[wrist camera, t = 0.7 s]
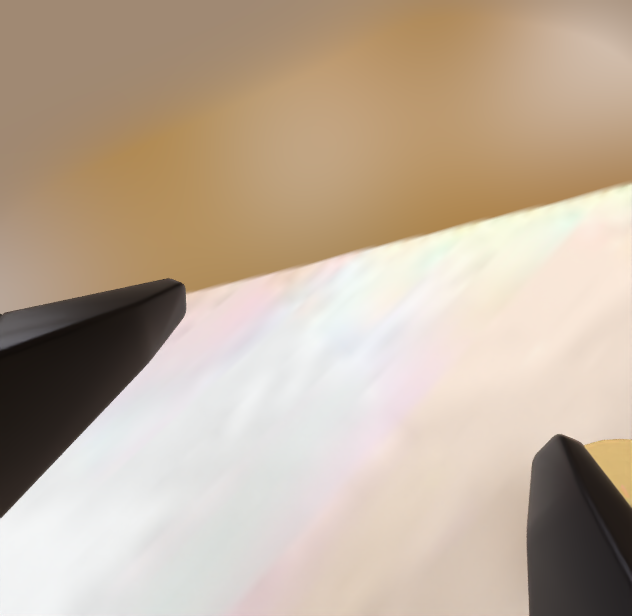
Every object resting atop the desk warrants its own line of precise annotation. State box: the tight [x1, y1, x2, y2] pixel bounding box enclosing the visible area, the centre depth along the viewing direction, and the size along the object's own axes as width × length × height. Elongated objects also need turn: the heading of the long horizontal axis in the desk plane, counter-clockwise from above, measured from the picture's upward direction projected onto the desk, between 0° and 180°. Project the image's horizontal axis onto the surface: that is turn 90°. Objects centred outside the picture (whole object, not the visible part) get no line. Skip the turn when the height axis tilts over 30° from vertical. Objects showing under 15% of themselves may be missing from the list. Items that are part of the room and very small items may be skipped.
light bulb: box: [584, 439, 632, 507], centre depth 15 cm, size 6×6×10 cm
